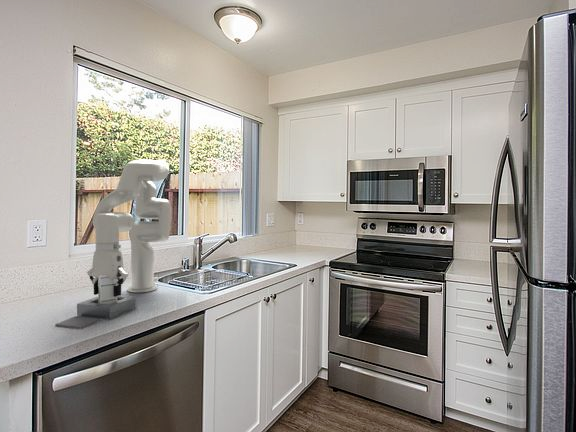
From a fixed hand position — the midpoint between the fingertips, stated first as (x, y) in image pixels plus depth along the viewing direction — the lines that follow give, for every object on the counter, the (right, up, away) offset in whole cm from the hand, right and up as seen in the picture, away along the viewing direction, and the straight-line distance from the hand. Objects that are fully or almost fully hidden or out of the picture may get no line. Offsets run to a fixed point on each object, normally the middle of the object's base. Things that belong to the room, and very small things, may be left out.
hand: (107, 294), depth 123 cm
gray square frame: (0, -7, 0) cm, 7 cm away
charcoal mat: (-4, -7, -11) cm, 14 cm away
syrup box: (0, -7, 0) cm, 7 cm away
